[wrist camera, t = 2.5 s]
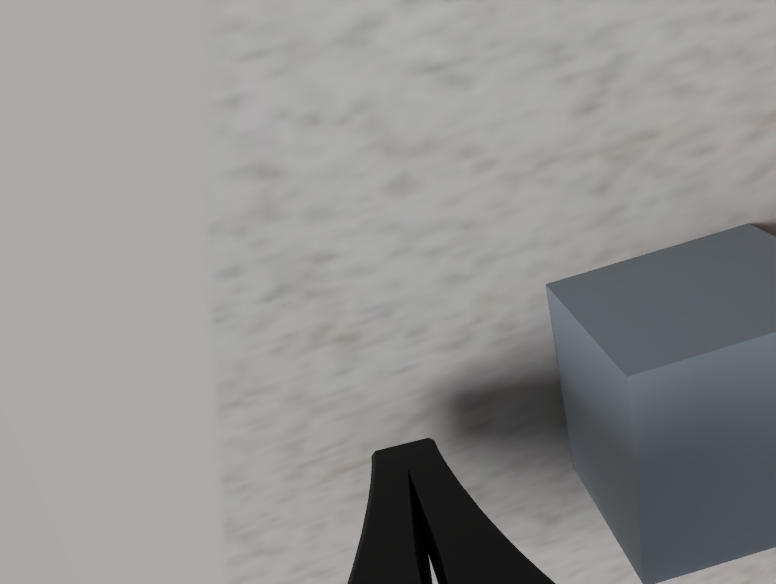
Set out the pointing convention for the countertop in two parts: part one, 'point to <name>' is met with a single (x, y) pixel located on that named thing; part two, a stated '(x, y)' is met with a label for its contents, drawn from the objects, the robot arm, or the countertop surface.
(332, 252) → the countertop surface
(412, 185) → the countertop surface
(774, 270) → the slate block
